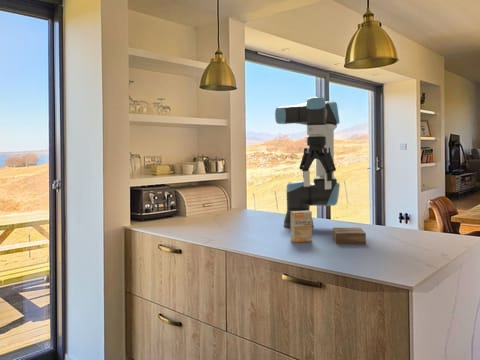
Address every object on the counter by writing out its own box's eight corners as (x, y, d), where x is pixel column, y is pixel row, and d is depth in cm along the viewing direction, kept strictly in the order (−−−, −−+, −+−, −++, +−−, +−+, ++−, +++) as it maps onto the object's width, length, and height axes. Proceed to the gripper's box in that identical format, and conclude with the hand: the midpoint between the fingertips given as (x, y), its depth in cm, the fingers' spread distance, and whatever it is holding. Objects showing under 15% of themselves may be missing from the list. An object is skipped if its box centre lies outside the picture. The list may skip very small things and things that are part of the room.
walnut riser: (332, 238, 179) (332, 227, 179) (360, 238, 178) (360, 227, 178) (335, 245, 168) (335, 233, 167) (365, 245, 166) (365, 233, 166)
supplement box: (294, 243, 172) (293, 212, 171) (290, 240, 176) (290, 210, 175) (312, 241, 173) (312, 211, 172) (308, 239, 178) (308, 209, 177)
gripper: (290, 137, 174) (291, 186, 176) (329, 135, 152) (330, 191, 154) (304, 136, 177) (305, 184, 179) (344, 134, 156) (345, 189, 158)
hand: (317, 187), depth 167 cm, fingers open, 13 cm apart
